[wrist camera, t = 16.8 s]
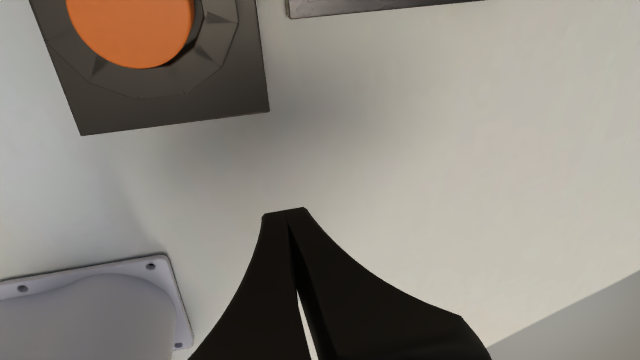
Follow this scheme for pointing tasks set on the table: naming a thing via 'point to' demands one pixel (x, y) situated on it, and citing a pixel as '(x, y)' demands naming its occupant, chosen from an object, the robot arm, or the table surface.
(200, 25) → the dark brown machine base
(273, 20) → the table surface
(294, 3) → the drip tray
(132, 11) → the button
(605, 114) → the table surface
